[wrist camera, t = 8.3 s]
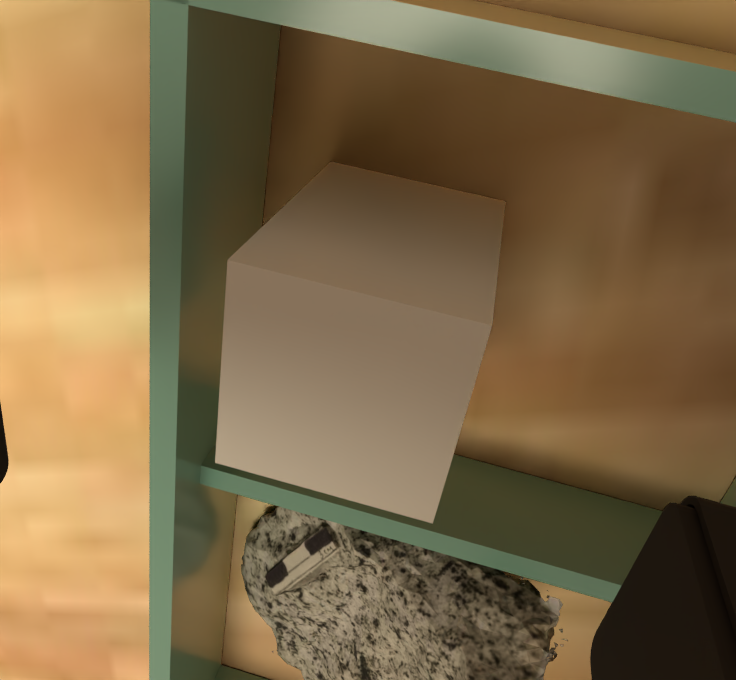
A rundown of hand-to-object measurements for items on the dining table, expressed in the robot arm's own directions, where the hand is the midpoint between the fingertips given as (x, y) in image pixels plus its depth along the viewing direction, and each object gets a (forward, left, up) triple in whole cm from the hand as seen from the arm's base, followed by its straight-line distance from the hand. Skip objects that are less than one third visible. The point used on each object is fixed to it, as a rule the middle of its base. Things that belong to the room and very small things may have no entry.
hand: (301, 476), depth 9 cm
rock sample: (-1, +11, -8) cm, 14 cm away
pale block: (0, 0, -8) cm, 8 cm away
